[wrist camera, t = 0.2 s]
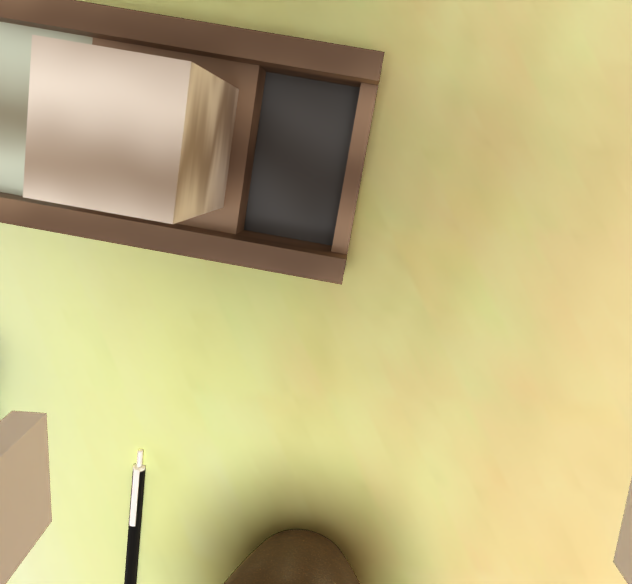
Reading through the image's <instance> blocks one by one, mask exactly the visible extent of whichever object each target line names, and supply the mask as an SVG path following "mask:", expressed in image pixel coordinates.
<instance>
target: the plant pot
mask: <svg viewBox="0 0 632 584" xmlns="http://www.w3.org/2000/svg"><path fill="white" fill-rule="evenodd" d="M224 584H360V583H359V581H358V579H357V577H356V576H355V574H354V572H353V570H352V568H351V567H350V565H349V563H348V562H347V560H346V558H345V557H344V555H343V554H342V552H341V551H340V549H339V548H338V547H337V546H336V545H335V544H334V543H333V542H332V541H330V540H329V539H327V538H326V537H324V536H322V535H320V534H318V533H315V532H313V531H308V530H300V529H299V530H286V531H283V532H279V533H277V534H274V535H273V536H271V537H270V538H268V539H267V540H265V541H264V542H263V543H262V544H261V545H260V546H258V547H257V548H256V549H255V550H254V551H253V552H252V553H251V554H250V555H249V556H248V557H247V558H246V559H245V560H244V561H243V562H242V563H241V564H240V565H239V566H238V568H237V569H236V570H235V571H234V572H233V573H232V574H231V575H230V577H229V578H228V579H227V580H226V581H225V583H224Z"/></svg>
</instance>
